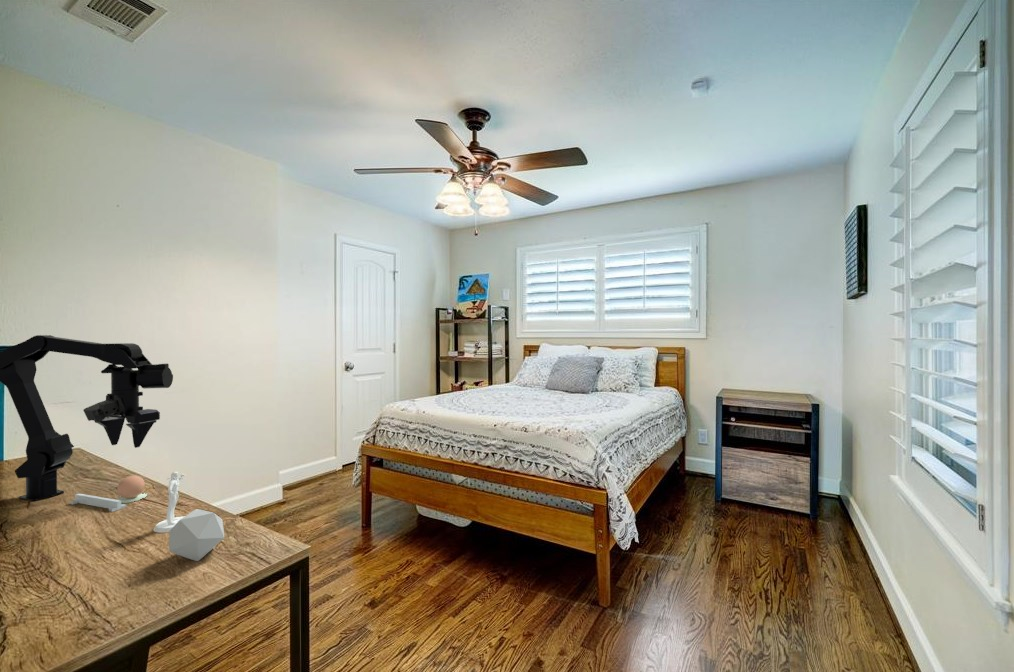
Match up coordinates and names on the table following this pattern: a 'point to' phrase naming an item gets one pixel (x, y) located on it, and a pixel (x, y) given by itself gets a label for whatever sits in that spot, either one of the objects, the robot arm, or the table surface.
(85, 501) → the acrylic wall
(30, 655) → the table surface
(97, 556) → the table surface
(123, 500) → the felt coaster
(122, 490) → the ball
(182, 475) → the figurine
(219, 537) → the die
